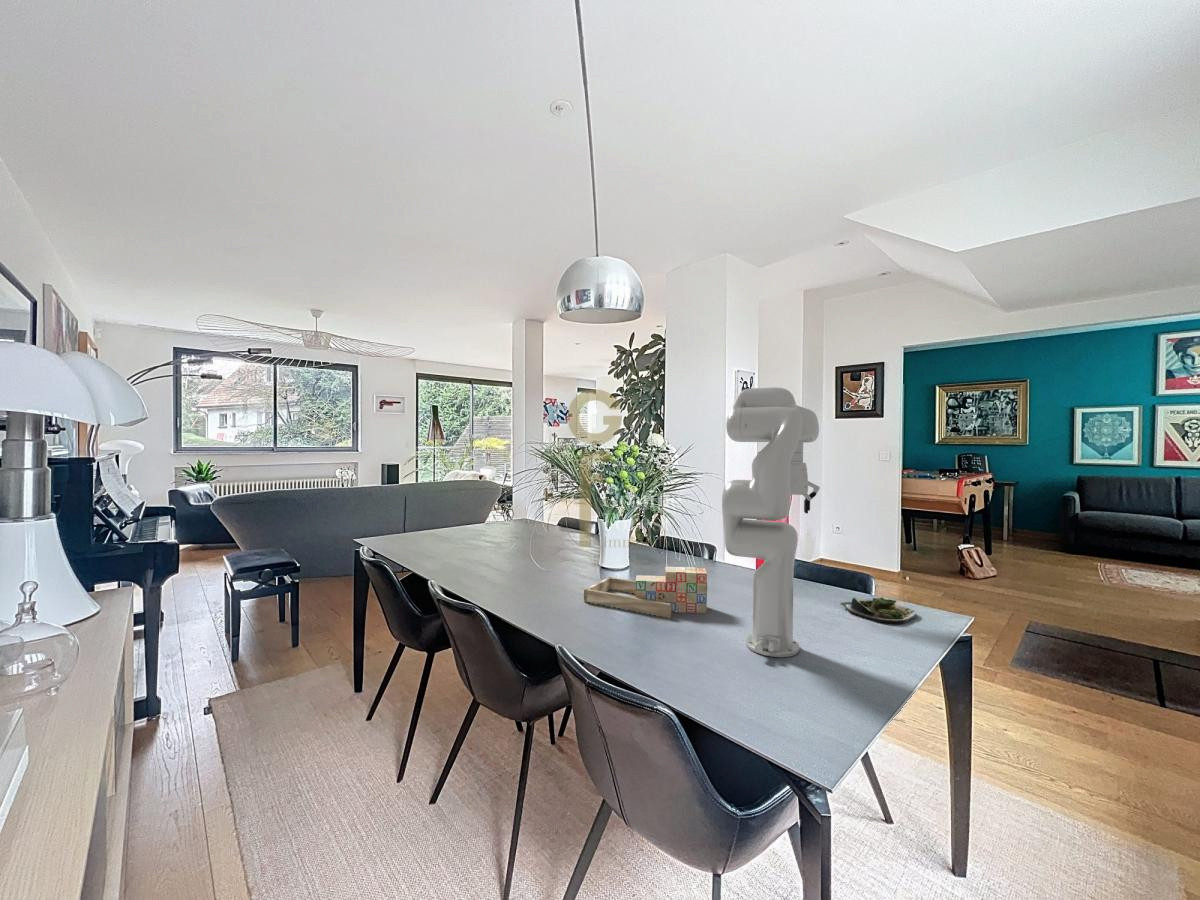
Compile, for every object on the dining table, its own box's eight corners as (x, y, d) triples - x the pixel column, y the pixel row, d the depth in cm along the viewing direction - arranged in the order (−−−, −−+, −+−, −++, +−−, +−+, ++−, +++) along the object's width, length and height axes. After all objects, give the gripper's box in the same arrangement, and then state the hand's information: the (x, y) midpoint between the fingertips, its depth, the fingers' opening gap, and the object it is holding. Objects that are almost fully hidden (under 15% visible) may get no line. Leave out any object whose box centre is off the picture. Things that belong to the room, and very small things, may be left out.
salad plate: (869, 599, 166) (869, 585, 166) (928, 615, 152) (929, 599, 151) (833, 611, 156) (834, 595, 156) (894, 629, 141) (894, 613, 141)
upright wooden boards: (669, 618, 149) (669, 604, 149) (583, 602, 164) (583, 589, 164) (689, 602, 163) (689, 589, 163) (609, 588, 178) (609, 576, 178)
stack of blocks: (635, 611, 156) (635, 570, 155) (636, 604, 162) (636, 565, 162) (707, 613, 153) (707, 572, 153) (705, 606, 159) (705, 567, 159)
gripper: (762, 458, 161) (762, 513, 161) (822, 459, 157) (821, 515, 157) (760, 457, 168) (760, 509, 168) (817, 458, 164) (816, 511, 164)
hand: (789, 512), depth 163 cm, fingers open, 9 cm apart
